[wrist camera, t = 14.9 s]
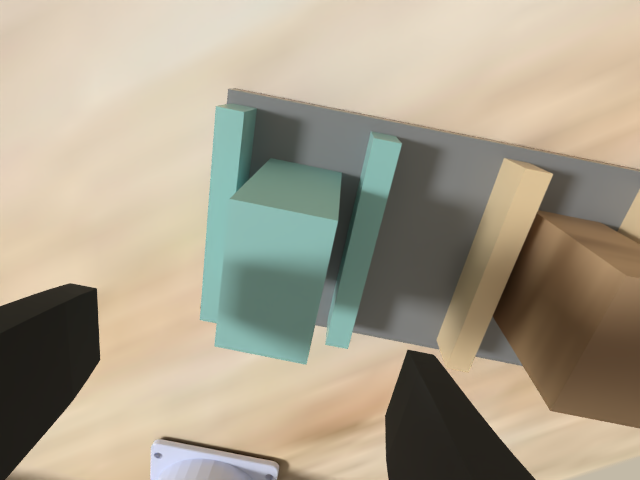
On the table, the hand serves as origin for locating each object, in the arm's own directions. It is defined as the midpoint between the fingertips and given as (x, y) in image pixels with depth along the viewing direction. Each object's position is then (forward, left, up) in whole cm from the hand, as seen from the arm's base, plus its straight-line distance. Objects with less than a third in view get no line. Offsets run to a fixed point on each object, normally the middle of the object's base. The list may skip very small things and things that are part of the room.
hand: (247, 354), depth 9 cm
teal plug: (0, 0, -9) cm, 9 cm away
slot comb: (0, -6, -10) cm, 11 cm away
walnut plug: (0, -11, -9) cm, 14 cm away
